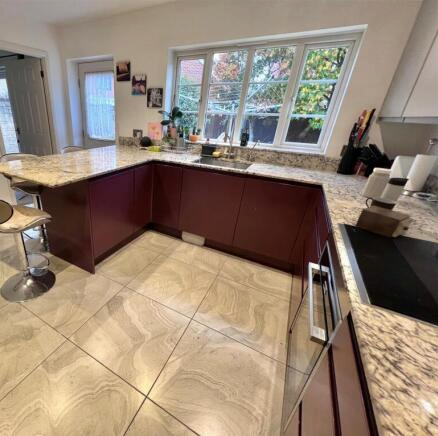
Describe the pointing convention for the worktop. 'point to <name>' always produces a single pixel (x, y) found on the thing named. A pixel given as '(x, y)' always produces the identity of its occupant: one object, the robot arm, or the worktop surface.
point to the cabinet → (380, 220)
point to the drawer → (402, 227)
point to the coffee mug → (382, 203)
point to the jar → (376, 183)
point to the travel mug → (394, 188)
